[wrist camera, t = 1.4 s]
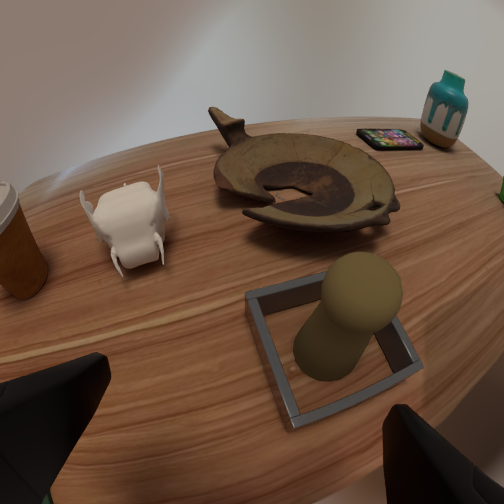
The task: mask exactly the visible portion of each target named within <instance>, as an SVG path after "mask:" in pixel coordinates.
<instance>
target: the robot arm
mask: <svg viewBox="0 0 504 504" xmlns="http://www.w3.org/2000/svg"><path fill="white" fill-rule="evenodd" d="M110 380H111V371H110V366H109V362H108V358H107V356H105V355H103V354H100V353H97V352H95V353H92V354H89V355H86V356H83V357H80V358H77V359H74V360H71V361H68V362H65V363H62V364H59V365H56V366H53V367H50V368H47V369H44V370H41V371H38V372H35V373H32V374H29V375H25V376H22V377H19V378H16V379H13V380H9V382H8V381H6V382H2V383H0V504H42V502H43V501H44V500H43V499H44V498H45V497H46V495H47V493H48V491H49V489H50V488H51V486H52V484H53V482H54V481H55V479H56V477H57V475H58V474H59V472H60V470H61V468H62V467H63V465H64V463H65V462H66V460H67V458H68V457H69V455H70V453H71V451H72V450H73V448H74V446H75V445H76V443H77V442H78V440H79V438H80V437H81V435H82V433H83V432H84V430H85V429H86V427H87V425H88V424H89V422H90V420H91V419H92V417H93V415H94V414H95V412H96V410H97V408H98V405H99V403H100V401H101V399H102V397H103V395H104V393H105V391H106V389H107V387H108V385H109V383H110ZM382 432H383V467H384V478H385V486H386V497H387V504H504V488H503V487H502V486H500V485H499V484H498V483H496V482H495V481H493V480H492V479H491V478H490V477H488V476H487V475H486V474H485V473H483V472H482V471H481V470H480V469H479V468H478V467H477V466H474V464H473V463H472V462H471V461H470V460H468V459H467V458H466V457H465V456H464V455H463V454H461V453H460V452H459V451H458V450H457V449H456V448H455V447H454V446H452V445H451V444H450V443H449V442H448V441H447V440H446V439H445V438H444V437H442V436H441V435H440V434H439V433H438V432H437V431H436V430H435V429H433V428H432V427H431V426H430V425H429V424H428V423H427V422H426V421H425V420H423V419H422V418H421V417H420V416H419V415H418V414H417V413H416V412H414V411H413V410H412V409H411V408H410V407H409V406H408V405H406V404H396V405H394V406H393V407H392V408H391V410H390V412H389V413H388V415H387V417H386V418H385V420H384V422H383V427H382Z"/></svg>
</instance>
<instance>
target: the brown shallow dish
mask: <svg viewBox="0 0 504 504" xmlns="http://www.w3.org/2000/svg"><path fill="white" fill-rule="evenodd" d="M208 112H209V114H210V116H211V118H212V120H213V121H214V123H215V124H216V126H217V128H218V129H219V131H220V133H221V135H222V136H223V138H224V139H225V141H226V143H227V145H228V146H229V149H228V150H227V151H225V152H224V153H223V154H222V155H221V156H220V157H219V158H218V160H217V162H216V164H215V168H214V179H215V182H216V185H217V186H218V187H219V188H220V189H223V190H225V191H227V192H230V193H234V194H238V195H240V196H243V197H247V198H249V199H254V200H259V201H261V202H263V201H265V202H274V203H275V202H276V201H275V198H274V196H273V195H271V194H270V193H269V192H267V191H266V190H265V189H264V188H267V189H277V188H286V187H294V188H297V189H299V190H302V191H305V192H307V193H311V194H312V195H310V196H308V197H301V198H300V199H296V200H290V201H285V202H281V203H277V204H273V205H270V206H265V207H264V208H245V209H243V211H242V213H243V215H245V216H247V217H250V218H252V219H255V220H258V221H260V222H263V223H266V224H270V225H274V226H278V227H283V228H287V229H292V230H300V231H308V232H344V231H353V230H358V229H362V228H365V227H368V226H374V225H377V226H383V225H387V224H389V223H390V219H389V215H388V214H389V213H390V212H396V211H398V210H399V209H400V203H399V202H398V200H397V198H396V197H395V188H394V185H393V182H392V179H391V177H390V176H389V174H388V172H387V171H386V170H385V169H384V168H383V166H382V165H381V164H380V163H379V162H378V161H377V160H376V159H374V158H372V157H371V156H370V155H369V154H368V153H366V152H364V151H363V150H361V149H359V148H355V147H352V146H351V145H350V144H347V143H344V142H342V141H338V140H334V139H331V138H326V137H322V136H317V135H307V134H290V133H289V134H285V133H281V134H280V133H279V134H277V133H276V134H268V135H261V136H255V137H251V136H249V135H247V134H246V133H245V130H244V123H245V121H244V119H234V118H231V117H229V116H228V115H226V114H225V113H223V112H222V111H221V110H219V109H218V108H216V107H210V108H209V110H208ZM276 196H278V197H279V195H278V194H277V195H276ZM279 198H280V199H282V198H281V197H279ZM283 200H285V199H283ZM372 207H376V208H380V209H377V210H374V211H371V210H369V209H370V208H372Z"/></svg>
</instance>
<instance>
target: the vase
mask: <svg viewBox="0 0 504 504" xmlns="http://www.w3.org/2000/svg"><path fill="white" fill-rule="evenodd" d="M464 84H465V79H463V78H462V77H460V76H458V75H456V74H454V73H452V72H449V71H447V70H445V71H444V74H443V77H442V79H441V81H440V82H436V83H433V84H432V85H431V87H430V90H429V92H428V95H427V98H426V102H425V105H424V109H423V113H422V118H421V131H422V134H423V135H424V137H425V138H426V139H427V140H429V141H430V142H431V143H433V144H435V145H437V146H440V147H445V148H447V147H450V146H452V145H453V144H454V143H455V142H456V141H457V139H458V137H459V134H460V132H461V129H462V127H463V124H464V121H465V118H466V114H467V109H468V99H467V98H466V96H465V95H464V92H463V89H464Z"/></svg>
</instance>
